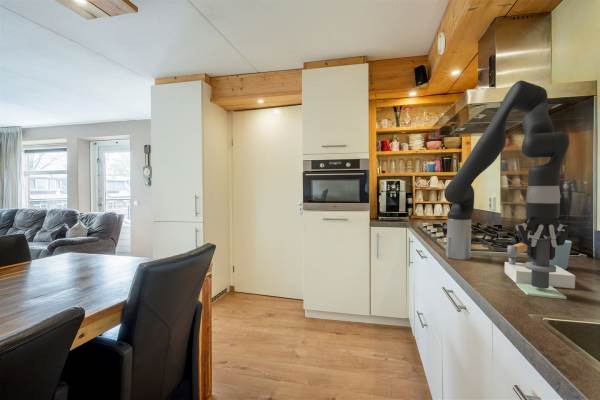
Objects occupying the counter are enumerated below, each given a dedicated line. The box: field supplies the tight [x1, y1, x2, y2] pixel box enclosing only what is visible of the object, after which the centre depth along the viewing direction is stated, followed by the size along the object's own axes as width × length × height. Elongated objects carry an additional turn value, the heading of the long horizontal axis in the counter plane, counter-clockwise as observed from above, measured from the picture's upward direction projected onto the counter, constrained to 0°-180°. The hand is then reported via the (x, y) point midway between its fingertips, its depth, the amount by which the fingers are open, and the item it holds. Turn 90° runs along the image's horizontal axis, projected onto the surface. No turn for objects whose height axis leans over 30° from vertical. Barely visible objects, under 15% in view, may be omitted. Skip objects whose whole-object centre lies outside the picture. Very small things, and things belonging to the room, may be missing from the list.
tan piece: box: [506, 241, 527, 258], centre depth 105 cm, size 14×3×4 cm, turn 127°
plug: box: [525, 238, 556, 288], centre depth 85 cm, size 7×7×14 cm
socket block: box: [504, 257, 576, 290], centre depth 96 cm, size 15×12×6 cm
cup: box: [549, 239, 573, 270], centre depth 110 cm, size 8×8×10 cm
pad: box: [515, 283, 568, 300], centre depth 86 cm, size 9×9×1 cm
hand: (540, 258), depth 85 cm, fingers closed on plug, 4 cm apart
